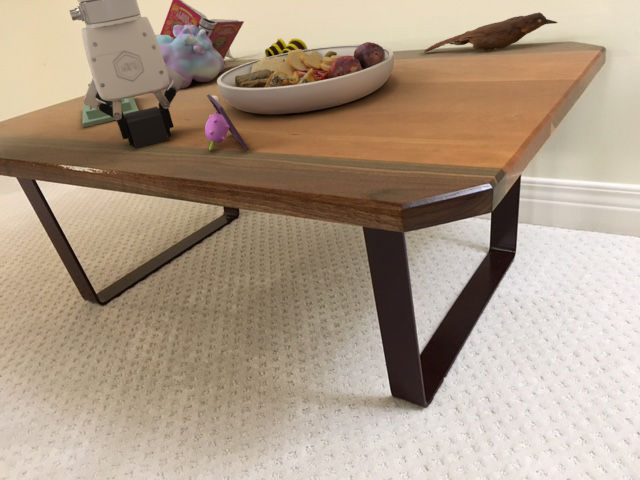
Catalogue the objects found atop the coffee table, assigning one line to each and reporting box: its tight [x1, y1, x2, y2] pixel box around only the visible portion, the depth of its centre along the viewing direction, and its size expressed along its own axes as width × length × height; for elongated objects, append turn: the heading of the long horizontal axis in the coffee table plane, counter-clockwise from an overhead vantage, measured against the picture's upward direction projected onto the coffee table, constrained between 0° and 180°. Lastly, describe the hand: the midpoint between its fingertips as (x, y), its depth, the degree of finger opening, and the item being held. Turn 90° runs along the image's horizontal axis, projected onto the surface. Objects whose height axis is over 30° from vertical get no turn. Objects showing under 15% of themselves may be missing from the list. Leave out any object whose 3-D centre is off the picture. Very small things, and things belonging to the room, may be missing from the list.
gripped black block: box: [125, 106, 170, 149], centre depth 83 cm, size 5×6×4 cm
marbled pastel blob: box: [155, 0, 245, 89], centre depth 118 cm, size 20×22×18 cm
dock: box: [82, 83, 140, 128], centre depth 104 cm, size 10×16×5 cm, turn 22°
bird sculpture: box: [423, 12, 558, 54], centre depth 103 cm, size 7×25×5 cm, turn 68°
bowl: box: [216, 41, 395, 115], centre depth 92 cm, size 30×30×8 cm
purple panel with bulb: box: [204, 93, 249, 152], centre depth 73 cm, size 7×5×9 cm
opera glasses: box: [264, 37, 308, 57], centre depth 123 cm, size 10×5×5 cm, turn 44°
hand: (149, 136), depth 83 cm, fingers closed on gripped black block, 5 cm apart
